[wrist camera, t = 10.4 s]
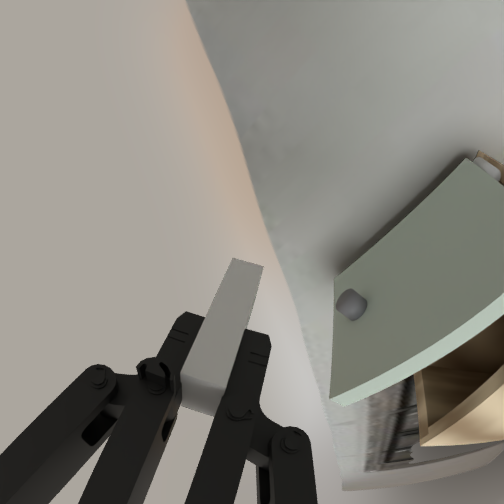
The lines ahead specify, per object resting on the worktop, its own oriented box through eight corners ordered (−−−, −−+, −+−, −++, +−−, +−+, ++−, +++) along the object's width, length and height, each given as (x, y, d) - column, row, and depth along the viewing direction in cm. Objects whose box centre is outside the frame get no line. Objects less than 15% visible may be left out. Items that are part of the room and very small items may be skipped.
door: (464, 136, 18) (564, 205, 7) (483, 163, 18) (575, 245, 8) (323, 270, 28) (313, 391, 17) (345, 287, 29) (344, 406, 18)
